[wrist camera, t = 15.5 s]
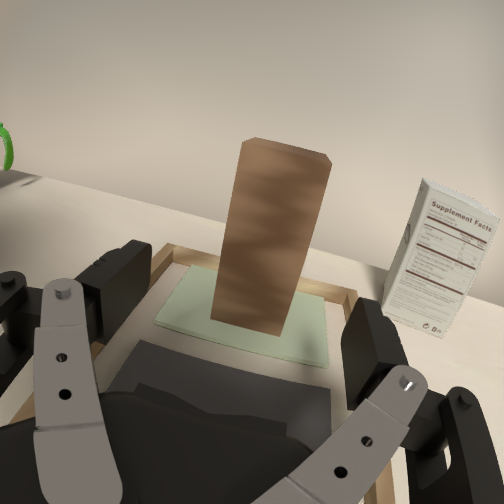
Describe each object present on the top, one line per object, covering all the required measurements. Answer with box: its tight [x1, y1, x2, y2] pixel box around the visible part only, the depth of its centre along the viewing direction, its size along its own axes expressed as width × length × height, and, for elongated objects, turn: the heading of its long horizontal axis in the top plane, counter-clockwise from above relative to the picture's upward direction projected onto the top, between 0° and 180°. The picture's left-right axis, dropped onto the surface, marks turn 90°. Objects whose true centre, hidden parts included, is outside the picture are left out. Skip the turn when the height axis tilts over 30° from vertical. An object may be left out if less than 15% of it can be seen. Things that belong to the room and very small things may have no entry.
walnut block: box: [210, 137, 332, 337], centre depth 21 cm, size 5×5×12 cm
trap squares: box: [106, 340, 331, 452], centre depth 12 cm, size 12×13×1 cm
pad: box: [154, 264, 329, 368], centre depth 24 cm, size 12×8×1 cm
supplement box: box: [381, 178, 500, 338], centre depth 26 cm, size 7×7×13 cm
